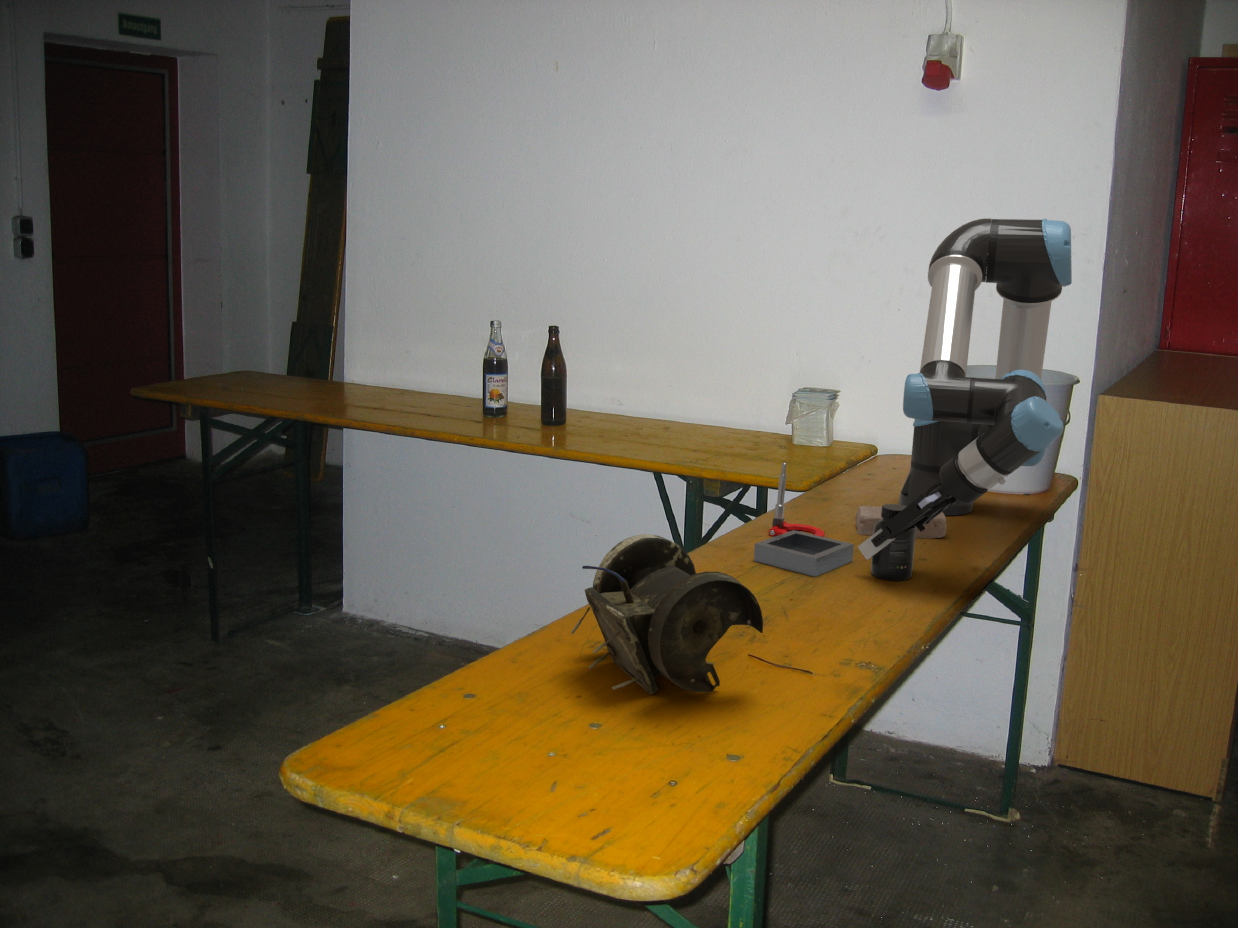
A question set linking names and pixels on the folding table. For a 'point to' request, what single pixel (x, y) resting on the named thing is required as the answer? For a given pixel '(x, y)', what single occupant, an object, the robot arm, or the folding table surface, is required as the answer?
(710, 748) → the folding table surface
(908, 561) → the supplement bottle
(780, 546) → the keeper tray
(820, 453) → the folding table surface
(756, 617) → the bench grinder
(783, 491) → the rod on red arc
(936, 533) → the brick
